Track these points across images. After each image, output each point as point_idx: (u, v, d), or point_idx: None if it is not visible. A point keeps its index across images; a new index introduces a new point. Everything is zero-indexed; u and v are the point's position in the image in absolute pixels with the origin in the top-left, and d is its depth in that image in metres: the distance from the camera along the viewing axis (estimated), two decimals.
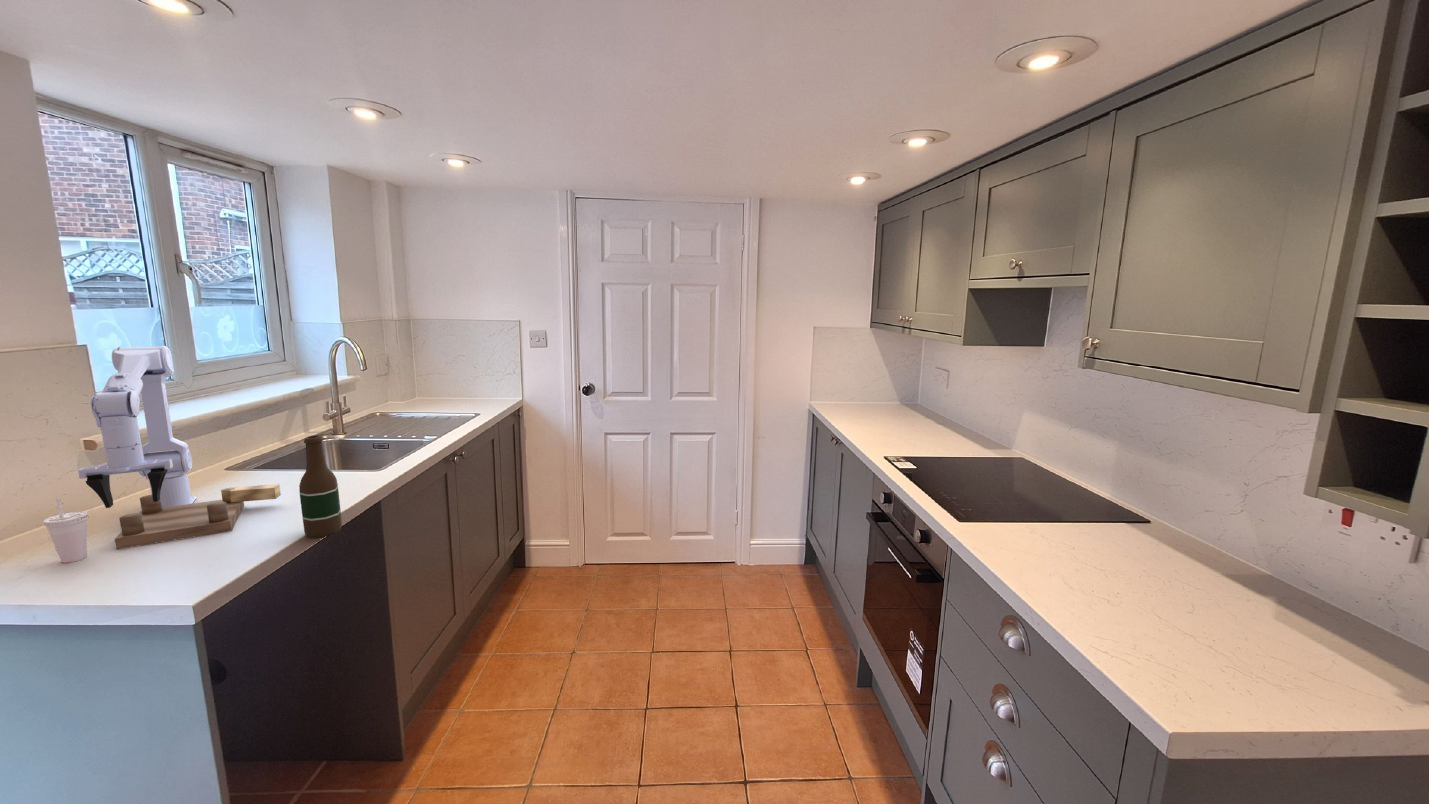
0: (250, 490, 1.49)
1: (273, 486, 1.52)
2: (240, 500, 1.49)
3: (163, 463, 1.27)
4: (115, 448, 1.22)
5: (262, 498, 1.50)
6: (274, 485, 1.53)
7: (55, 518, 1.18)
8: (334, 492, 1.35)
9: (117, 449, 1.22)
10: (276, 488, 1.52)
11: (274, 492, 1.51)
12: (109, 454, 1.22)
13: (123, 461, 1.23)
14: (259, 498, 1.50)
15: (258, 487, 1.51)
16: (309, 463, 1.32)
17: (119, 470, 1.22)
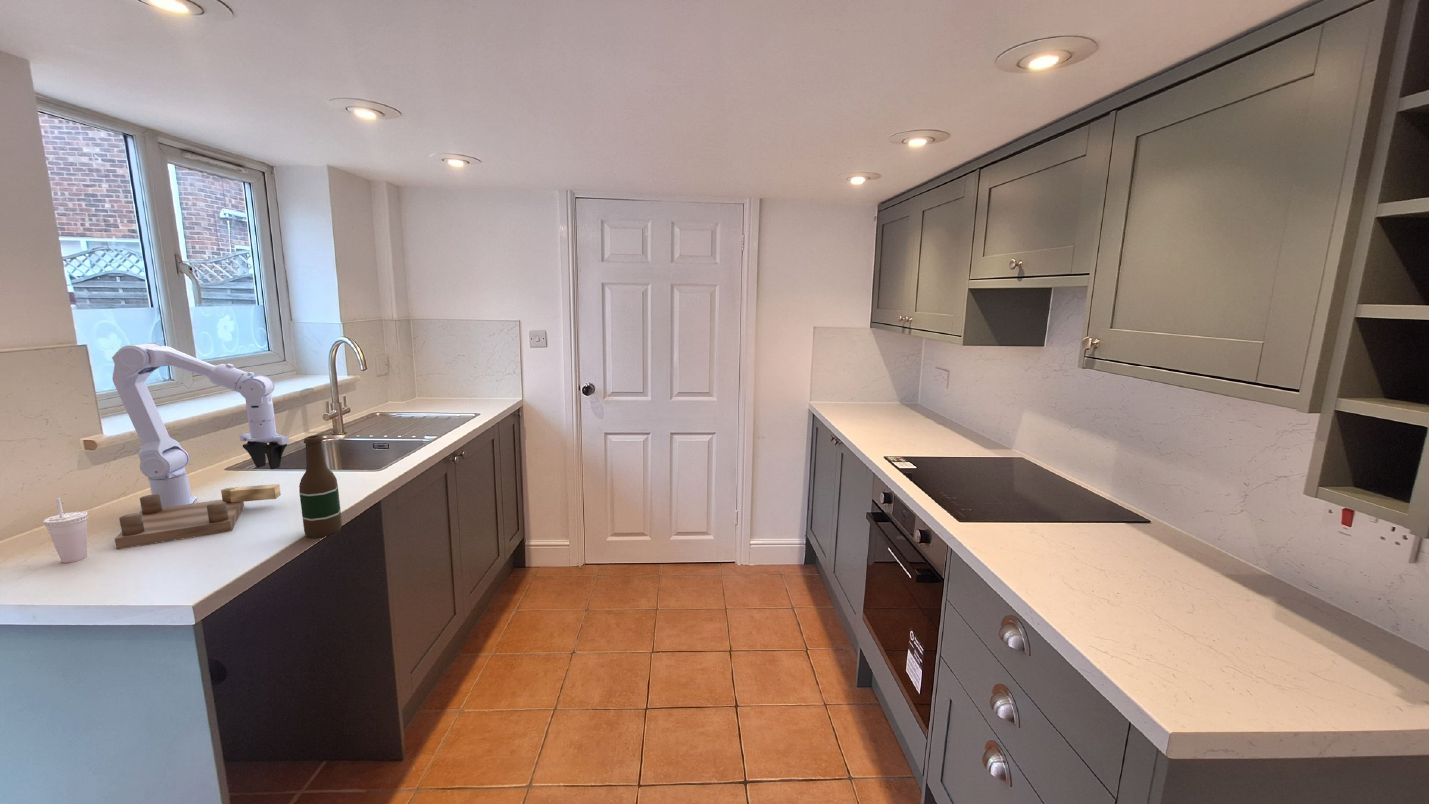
0: (250, 490, 1.49)
1: (273, 486, 1.52)
2: (240, 500, 1.49)
3: (278, 439, 1.53)
4: (249, 422, 1.52)
5: (262, 498, 1.50)
6: (274, 485, 1.53)
7: (55, 518, 1.18)
8: (334, 492, 1.35)
9: (250, 423, 1.52)
10: (276, 488, 1.52)
11: (274, 492, 1.51)
12: (249, 426, 1.53)
13: (253, 432, 1.52)
14: (259, 498, 1.50)
15: (258, 487, 1.51)
16: (309, 463, 1.32)
17: (248, 440, 1.51)
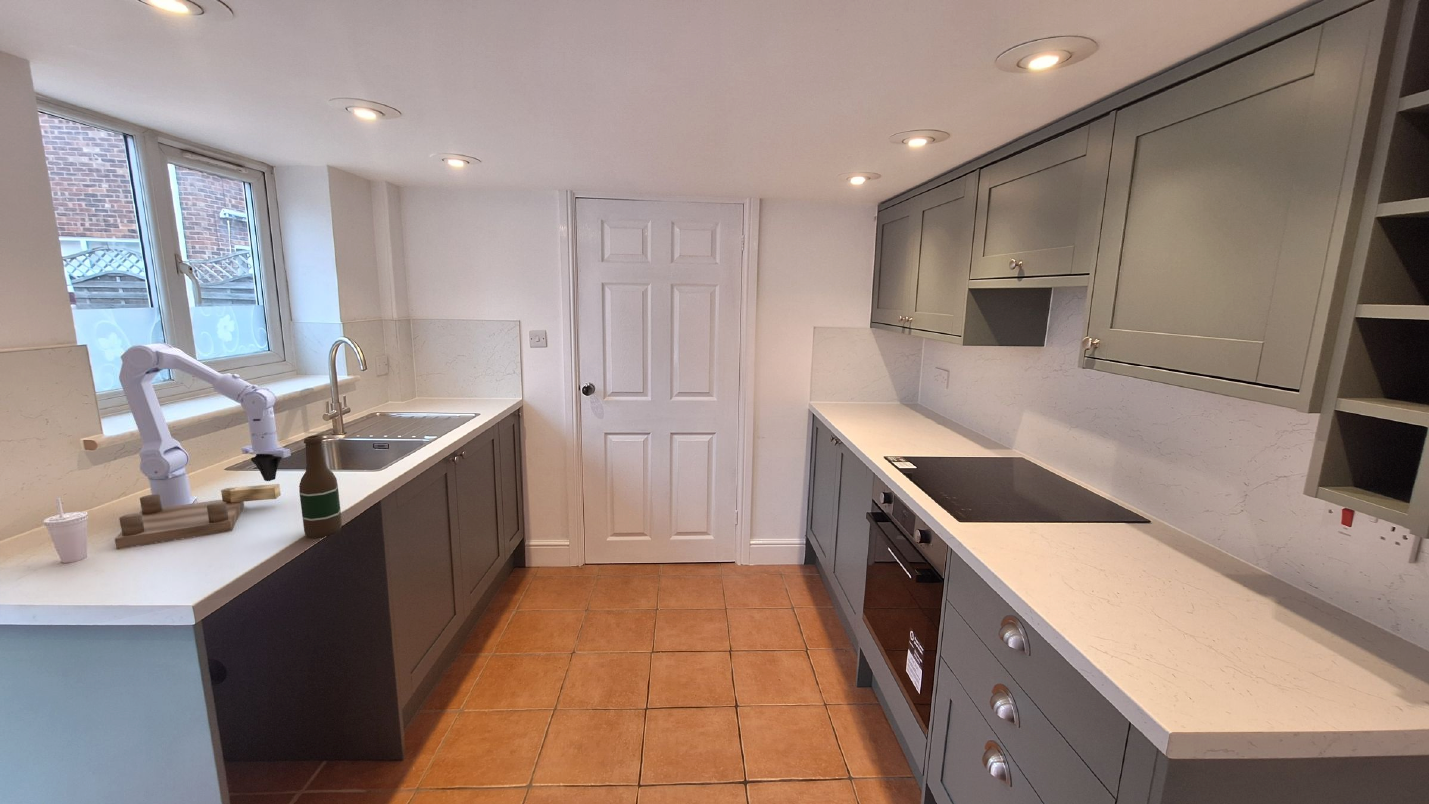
0: (250, 490, 1.49)
1: (273, 486, 1.52)
2: (240, 500, 1.49)
3: (280, 452, 1.53)
4: (251, 435, 1.52)
5: (262, 498, 1.50)
6: (274, 485, 1.53)
7: (55, 518, 1.18)
8: (334, 492, 1.35)
9: (252, 436, 1.52)
10: (276, 488, 1.52)
11: (274, 492, 1.51)
12: None
13: (255, 446, 1.53)
14: (259, 498, 1.50)
15: (258, 487, 1.51)
16: (309, 463, 1.32)
17: (250, 453, 1.52)
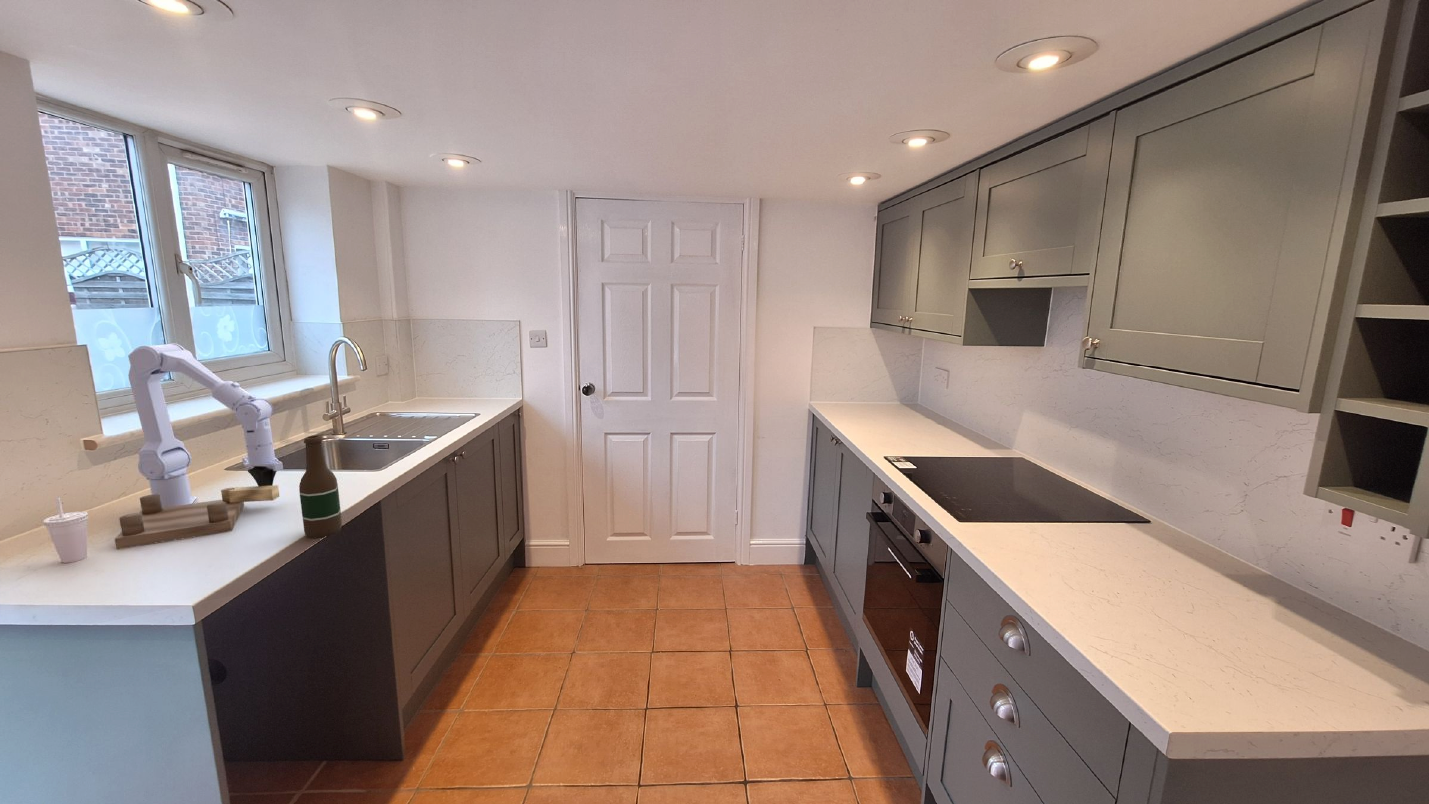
0: (248, 491, 1.49)
1: (271, 487, 1.51)
2: (239, 500, 1.49)
3: (271, 465, 1.49)
4: (246, 446, 1.49)
5: (260, 499, 1.50)
6: (272, 486, 1.52)
7: (55, 518, 1.18)
8: (334, 492, 1.35)
9: (247, 447, 1.49)
10: (274, 489, 1.51)
11: (271, 494, 1.50)
12: None
13: (250, 457, 1.49)
14: (257, 499, 1.49)
15: (256, 488, 1.50)
16: (309, 463, 1.32)
17: (244, 464, 1.49)
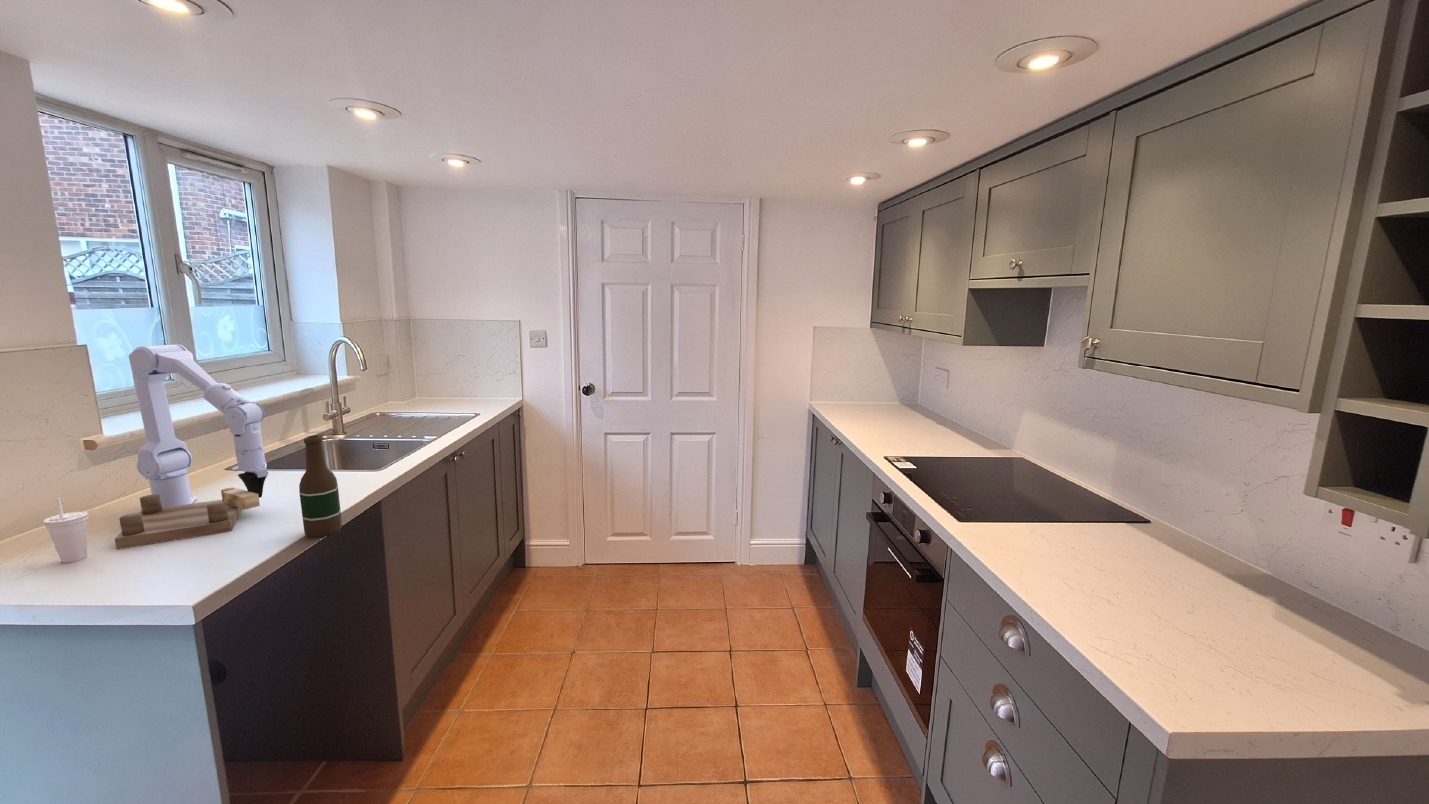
0: (232, 496, 1.45)
1: (247, 496, 1.44)
2: (228, 503, 1.47)
3: (255, 471, 1.44)
4: (235, 450, 1.45)
5: (238, 506, 1.45)
6: (251, 494, 1.45)
7: (55, 518, 1.18)
8: (334, 492, 1.35)
9: None
10: (249, 498, 1.44)
11: (244, 502, 1.43)
12: None
13: (238, 462, 1.45)
14: (237, 505, 1.45)
15: (241, 493, 1.46)
16: (309, 463, 1.32)
17: (232, 469, 1.45)
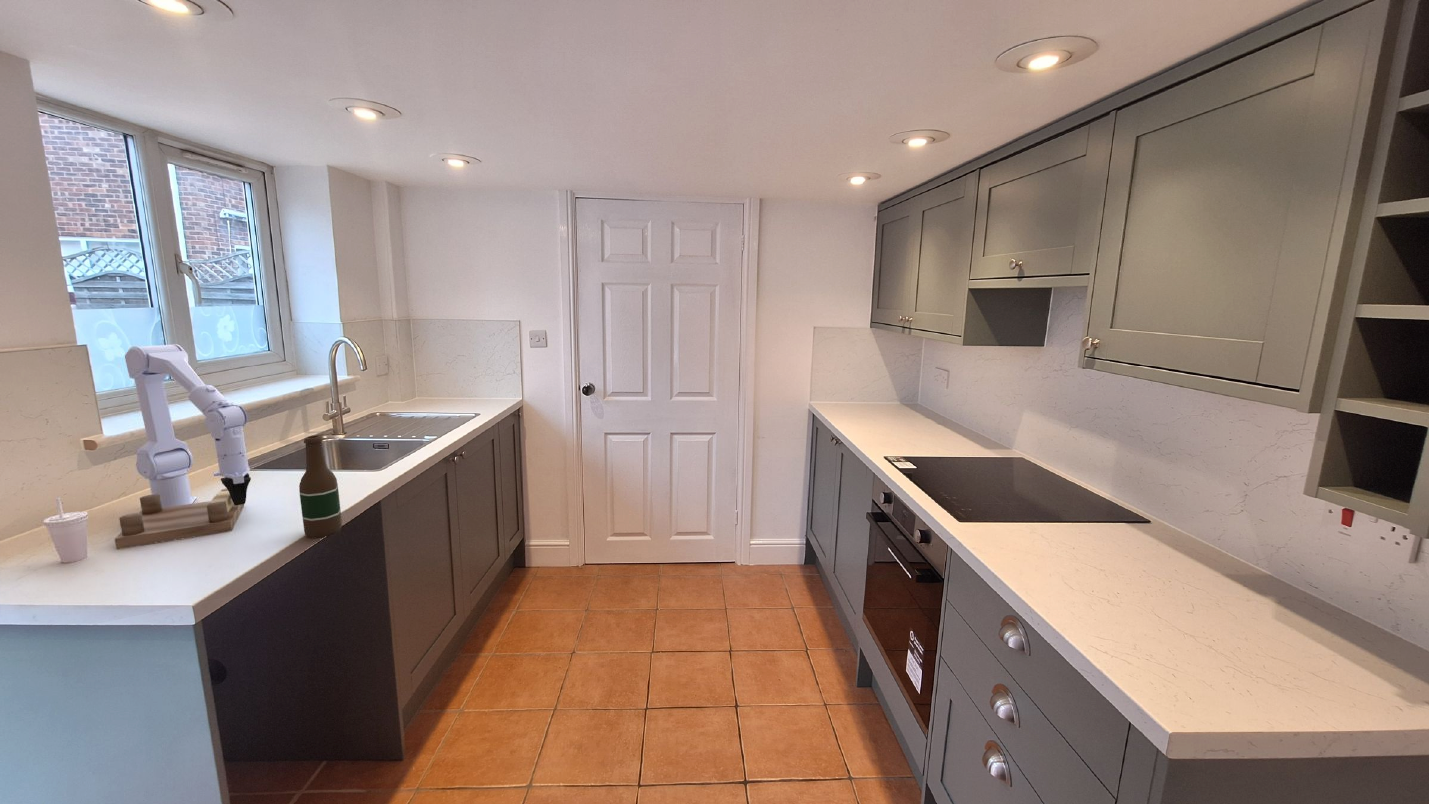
0: None
1: (215, 501, 1.40)
2: None
3: (232, 477, 1.39)
4: (217, 454, 1.41)
5: None
6: (220, 501, 1.41)
7: (55, 518, 1.18)
8: (334, 492, 1.35)
9: (217, 456, 1.41)
10: None
11: None
12: None
13: (219, 467, 1.41)
14: None
15: (220, 497, 1.43)
16: (309, 463, 1.32)
17: None
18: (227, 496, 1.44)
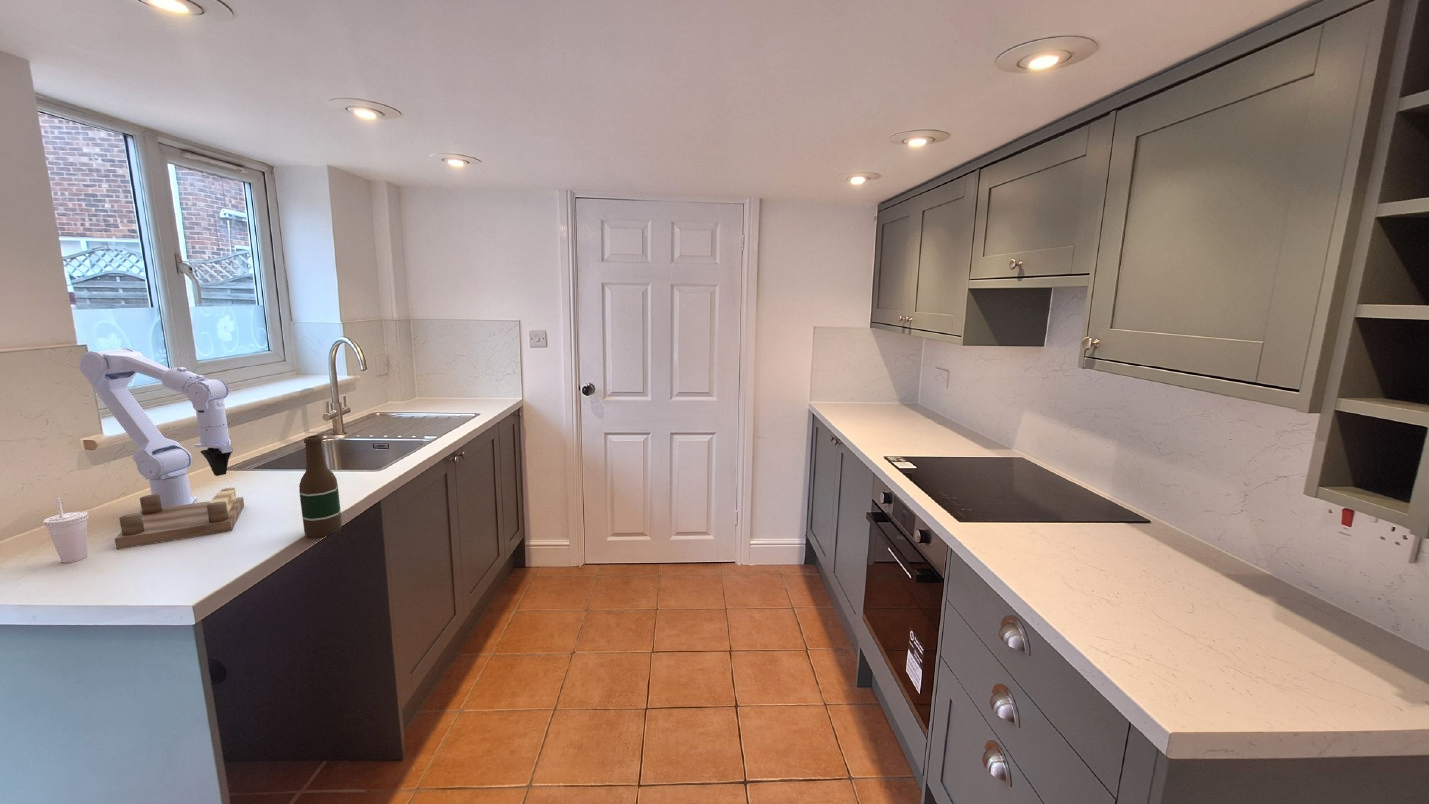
0: None
1: (215, 501, 1.40)
2: None
3: (220, 447, 1.44)
4: (198, 426, 1.45)
5: None
6: (220, 501, 1.41)
7: (55, 518, 1.18)
8: (334, 492, 1.35)
9: None
10: None
11: None
12: None
13: (201, 438, 1.45)
14: None
15: (220, 497, 1.43)
16: (309, 463, 1.32)
17: (195, 445, 1.45)
18: (227, 496, 1.44)
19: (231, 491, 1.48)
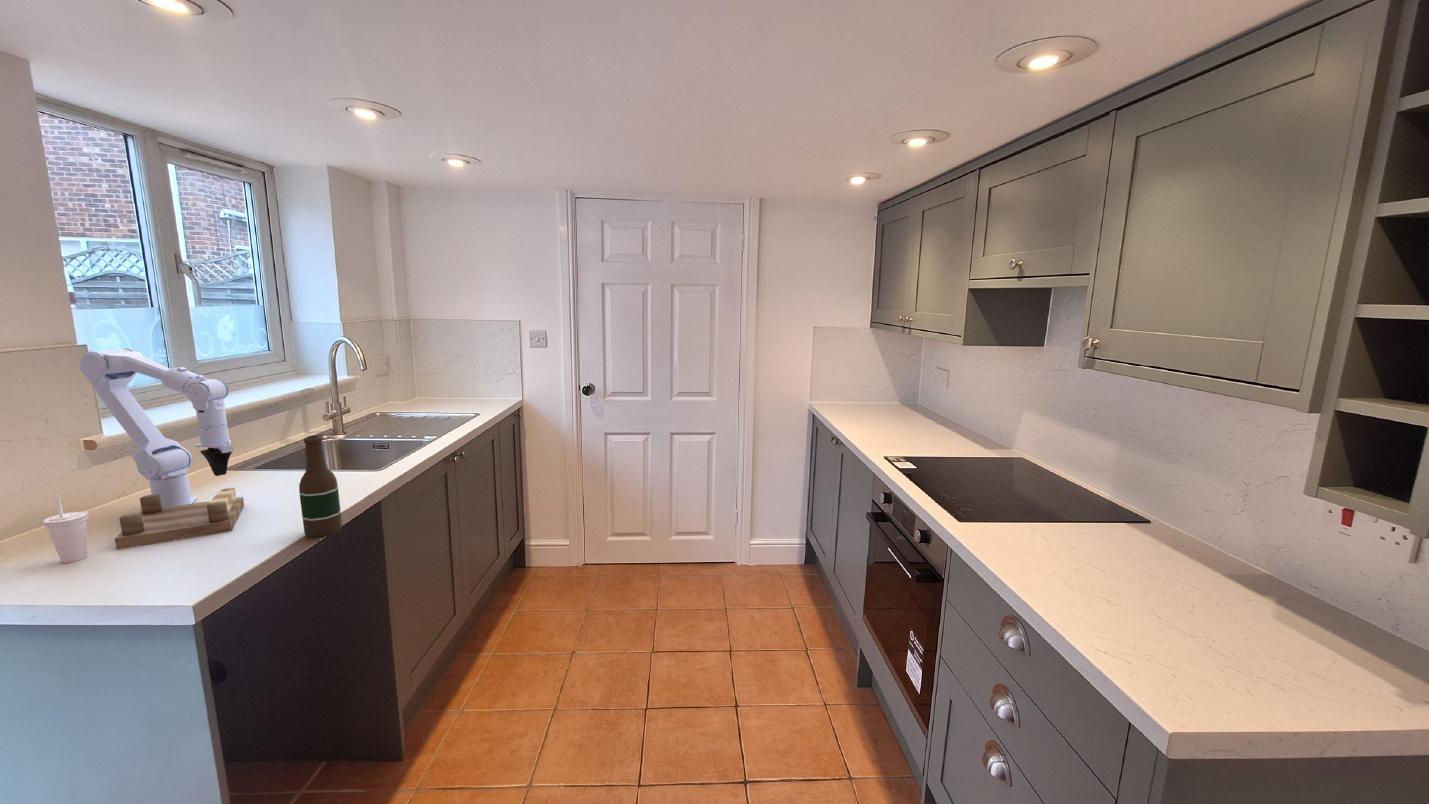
0: None
1: (215, 501, 1.40)
2: None
3: (220, 447, 1.44)
4: (198, 426, 1.45)
5: None
6: (220, 501, 1.41)
7: (55, 518, 1.18)
8: (334, 492, 1.35)
9: None
10: None
11: None
12: None
13: (201, 438, 1.45)
14: None
15: (220, 497, 1.43)
16: (309, 463, 1.32)
17: (195, 445, 1.45)
18: (227, 496, 1.44)
19: (231, 491, 1.48)
